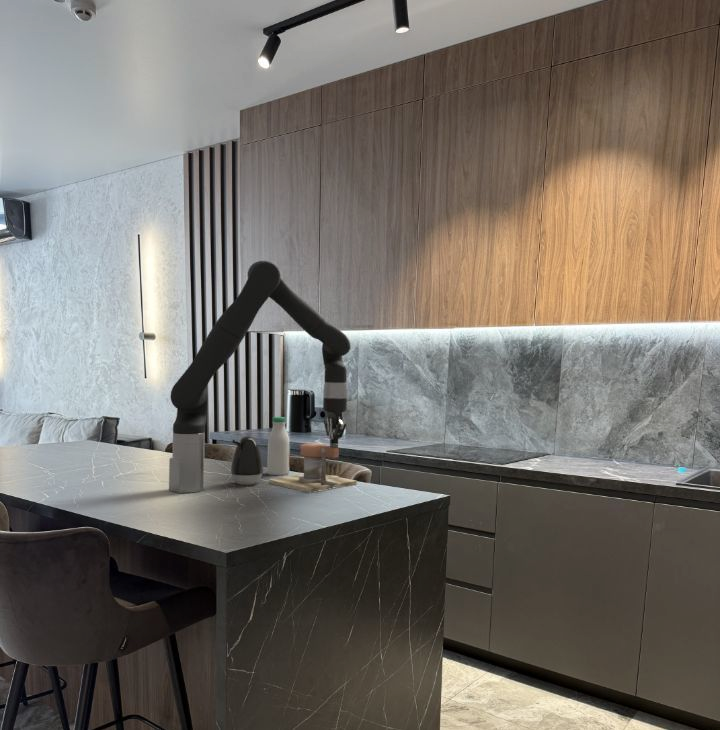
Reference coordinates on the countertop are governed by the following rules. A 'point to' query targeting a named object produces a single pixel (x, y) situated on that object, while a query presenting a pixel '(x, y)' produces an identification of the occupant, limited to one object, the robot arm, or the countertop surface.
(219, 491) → the countertop surface
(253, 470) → the pump dispenser
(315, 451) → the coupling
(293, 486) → the post board
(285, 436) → the milk bottle
